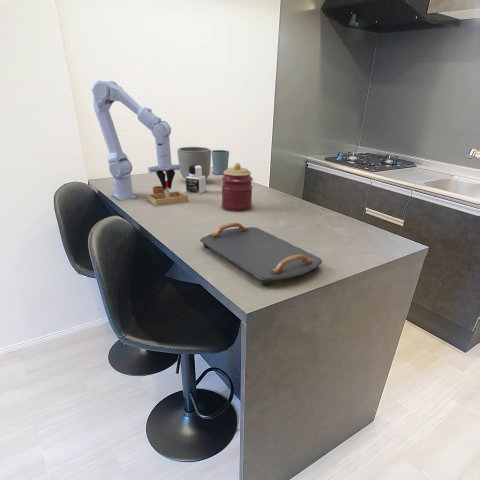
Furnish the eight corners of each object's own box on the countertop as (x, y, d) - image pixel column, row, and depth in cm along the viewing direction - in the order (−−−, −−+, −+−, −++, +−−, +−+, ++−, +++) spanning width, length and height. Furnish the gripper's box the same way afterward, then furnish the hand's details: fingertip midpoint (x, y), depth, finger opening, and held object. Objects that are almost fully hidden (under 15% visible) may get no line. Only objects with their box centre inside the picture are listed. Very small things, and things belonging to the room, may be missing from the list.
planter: (194, 176, 199) (192, 145, 190) (218, 181, 191) (217, 149, 182) (172, 182, 187) (169, 149, 178) (196, 187, 179) (195, 153, 170)
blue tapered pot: (210, 174, 205) (209, 151, 199) (214, 171, 214) (213, 149, 207) (227, 175, 204) (227, 152, 197) (230, 172, 212) (230, 150, 206)
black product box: (186, 192, 170) (184, 166, 164) (193, 189, 176) (192, 163, 169) (199, 194, 168) (198, 167, 161) (206, 191, 174) (205, 164, 167)
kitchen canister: (257, 207, 152) (260, 163, 143) (237, 213, 145) (238, 167, 135) (236, 201, 160) (236, 159, 150) (215, 206, 152) (214, 162, 142)
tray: (147, 200, 157) (147, 195, 156) (178, 196, 164) (178, 191, 163) (156, 206, 150) (155, 200, 149) (188, 201, 157) (187, 196, 156)
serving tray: (194, 244, 116) (193, 226, 112) (250, 232, 127) (251, 214, 124) (267, 293, 90) (269, 271, 86) (330, 272, 101) (334, 252, 97)
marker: (165, 199, 157) (163, 180, 153) (169, 199, 158) (167, 180, 154) (166, 200, 156) (165, 181, 151) (170, 200, 157) (169, 181, 152)
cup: (152, 196, 164) (150, 186, 161) (162, 194, 166) (161, 185, 164) (156, 198, 160) (155, 189, 158) (167, 197, 162) (166, 188, 160)
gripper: (150, 157, 141) (154, 192, 148) (183, 155, 147) (185, 188, 155) (144, 154, 145) (148, 189, 153) (176, 152, 152) (179, 185, 160)
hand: (166, 188), depth 154 cm, fingers closed on marker, 2 cm apart
